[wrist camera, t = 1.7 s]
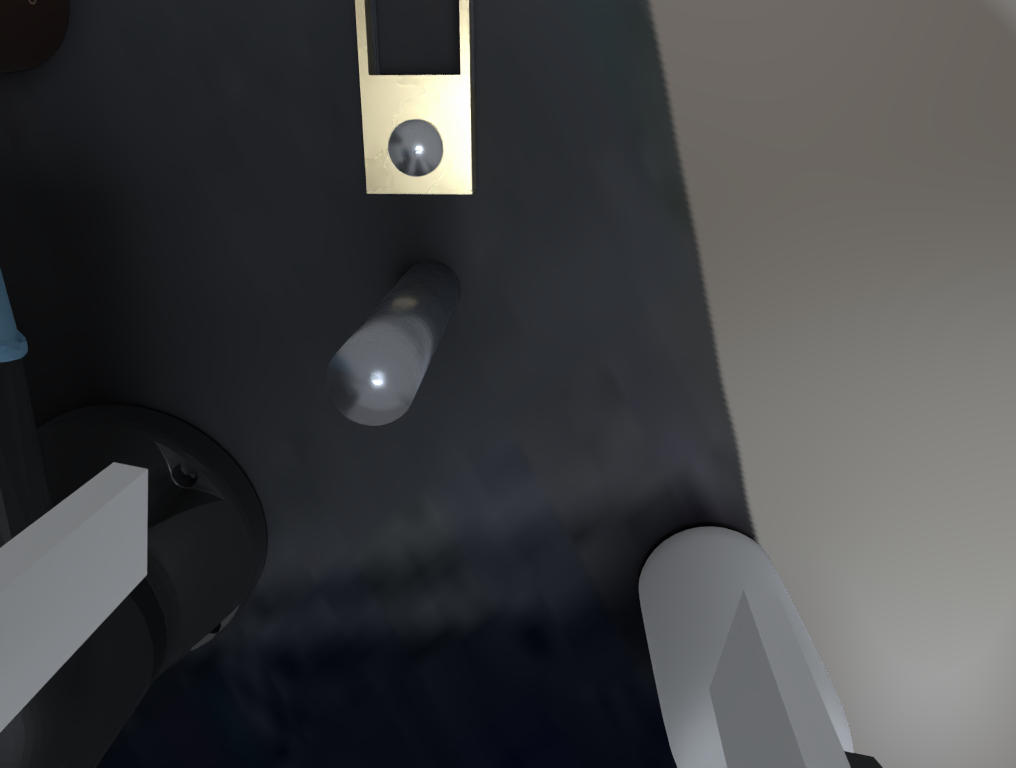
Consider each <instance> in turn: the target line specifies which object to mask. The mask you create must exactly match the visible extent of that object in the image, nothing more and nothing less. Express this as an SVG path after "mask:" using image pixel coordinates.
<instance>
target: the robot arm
mask: <svg viewBox="0 0 1016 768" xmlns="http://www.w3.org/2000/svg"><path fill="white" fill-rule="evenodd" d="M27 352H28V346H27V341H26V338H25V337H24V336H23V335H22V334H21V333H20V332H19V331H18V330H17V327H16V324H15V320H14V316H13V313H12V309H11V305H10V302H9V298H8V294H7V291H6V287H5V284H4V280H3V276H2V273H1V269H0V768H95V767H96V766H97V764H98V763H99V762H100V760H101V759H102V757H103V756H104V754H105V753H106V751H107V750H108V748H109V747H110V745H111V744H112V742H113V741H114V740H115V738H116V737H117V735H118V734H119V732H120V731H121V729H122V728H123V726H124V725H125V723H126V722H127V720H128V719H129V717H130V716H131V715H132V713H133V712H134V710H135V709H136V707H137V706H138V704H139V703H140V701H141V700H142V698H143V697H144V695H145V694H146V692H147V691H148V689H149V688H150V687H151V685H152V684H153V682H154V681H155V679H156V678H157V677H158V676H159V675H161V674H162V673H164V672H165V671H166V670H168V669H169V668H171V667H172V666H174V665H175V664H176V663H178V662H179V661H180V660H182V659H183V658H184V657H185V656H186V655H187V654H188V653H189V652H190V651H191V650H194V649H196V648H198V647H200V646H201V645H203V644H205V643H206V642H208V641H209V640H211V639H212V638H214V637H215V636H216V635H218V634H219V633H220V632H222V631H223V630H224V629H225V628H226V627H227V626H228V625H229V624H230V623H231V622H232V620H233V619H234V618H235V617H236V616H237V614H238V613H239V612H240V610H241V609H242V607H243V606H244V604H245V602H246V601H247V599H248V597H249V596H250V594H251V593H252V591H253V589H254V588H255V586H256V584H257V582H258V580H259V578H260V576H261V573H262V570H263V567H264V563H265V558H266V550H267V534H266V526H265V520H264V516H263V512H262V509H261V506H260V503H259V501H258V498H257V496H256V494H255V492H254V490H253V488H252V486H251V484H250V483H249V481H248V479H247V478H246V476H245V475H244V473H243V472H242V470H241V469H240V468H239V467H238V465H237V464H236V463H235V462H234V461H233V460H232V458H231V457H230V456H229V455H228V454H227V453H226V452H225V451H224V450H223V449H222V448H221V447H219V446H218V445H217V444H216V443H215V442H213V441H212V440H211V439H210V438H208V437H207V436H206V435H204V434H203V433H201V432H200V431H198V430H197V429H195V428H193V427H191V426H190V425H188V424H186V423H184V422H182V421H180V420H178V419H176V418H173V417H171V416H168V415H166V414H163V413H160V412H157V411H154V410H150V409H146V408H141V407H136V406H129V405H115V404H112V405H95V406H89V407H83V408H79V409H75V410H73V411H70V412H67V413H64V414H62V415H60V416H58V417H56V418H54V419H52V420H50V421H49V422H47V423H46V424H44V425H42V426H41V427H39V428H38V429H36V424H35V419H34V415H33V410H32V405H31V400H30V395H29V390H28V385H27V380H26V375H25V370H24V364H23V359H22V357H24V356H25V354H26V353H27ZM709 691H710V695H711V700H712V704H713V708H714V713H715V717H716V721H717V726H718V730H719V734H720V739H721V743H722V747H723V752H724V756H725V760H726V765H727V768H882V766H881V765H880V764H879V763H878V762H877V761H876V760H875V758H874V757H870V756H866V755H861V754H856V753H851V752H846V751H844V750H843V748H842V745H841V743H840V740H839V738H838V736H837V733H836V731H835V729H834V726H833V724H832V721H831V719H830V717H829V714H828V712H827V709H826V707H825V705H824V702H823V700H822V698H821V695H820V693H819V690H818V688H817V686H816V683H815V681H814V678H813V676H812V674H811V671H810V669H809V667H808V664H807V662H806V659H805V657H804V655H803V652H802V650H801V647H800V645H799V643H798V640H797V638H796V636H795V633H794V631H793V628H792V626H791V624H790V621H789V619H788V616H787V614H786V612H785V609H784V607H783V605H782V602H781V600H780V597H779V596H776V595H771V594H766V593H761V592H756V591H752V590H747V589H743V592H742V595H741V598H740V601H739V604H738V607H737V610H736V613H735V615H734V618H733V621H732V624H731V627H730V630H729V633H728V636H727V639H726V642H725V645H724V647H723V650H722V653H721V656H720V659H719V662H718V665H717V668H716V671H715V674H714V677H713V680H712V682H711V685H710V688H709Z"/></svg>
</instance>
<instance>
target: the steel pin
mask: <svg viewBox="0 0 1016 768" xmlns="http://www.w3.org/2000/svg"><path fill="white" fill-rule="evenodd" d="M459 297H460V285H459V282H458V279H457V277H456V275H455V274H454V273H453V271H452V270H451V269H450V268H448V267H447V266H446V265H444V264H442V263H439V262H435V261H423V262H420V263H417V264H415V265H414V266H412V267H411V268H410V269H409V270H408V271H407V272H406V273H405V274H404V276H403V277H402V278H401V279H400V280H399V281H398V283H397V284H396V285H395V286H394V287H393V288H392V289H391V291H390V292H389V293H388V294H387V295H386V296H385V298H384V299H383V300H382V301H381V302H380V303H379V304H378V306H377V307H376V308H375V309H374V310H373V311H372V313H371V314H370V315H369V316H368V317H367V318H366V319H365V321H364V322H363V323H362V324H361V325H360V326H359V328H358V329H357V330H356V331H355V332H354V333H353V334H352V336H351V337H350V338H349V339H348V340H347V341H346V343H345V344H344V345H343V346H342V347H341V348H340V349H339V351H338V352H337V353H336V354H335V355H334V356H333V358H332V359H331V361H330V363H329V365H328V368H327V372H326V388H327V392H328V395H329V397H330V399H331V401H332V403H333V404H334V406H335V407H336V408H337V409H338V410H339V411H340V412H341V413H342V414H343V415H344V416H346V417H347V418H349V419H351V420H353V421H355V422H357V423H360V424H364V425H372V426H375V425H384V424H387V423H390V422H393V421H395V420H396V419H398V418H400V417H401V416H402V415H403V414H404V413H405V412H406V411H407V410H408V408H409V407H410V405H411V403H412V401H413V399H414V397H415V394H416V392H417V390H418V388H419V386H420V384H421V381H422V379H423V377H424V375H425V373H426V370H427V368H428V366H429V364H430V362H431V360H432V357H433V355H434V353H435V351H436V349H437V347H438V344H439V342H440V340H441V338H442V336H443V333H444V331H445V329H446V327H447V325H448V323H449V320H450V318H451V316H452V314H453V312H454V310H455V307H456V305H457V303H458V301H459Z"/></svg>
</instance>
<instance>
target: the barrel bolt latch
mask: <svg viewBox="0 0 1016 768" xmlns="http://www.w3.org/2000/svg"><path fill="white" fill-rule="evenodd" d="M355 10H356V26H357V42H358V58H359V74H360V90H361V106H362V122H363V139H364V155H365V171H366V187H367V194H472V193H473V192H474V191H475V190H476V122H475V50H474V0H459V13H460V63H461V75H380V66H379V47H378V29H377V10H376V0H355Z"/></svg>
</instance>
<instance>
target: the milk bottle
mask: <svg viewBox="0 0 1016 768" xmlns="http://www.w3.org/2000/svg"><path fill="white" fill-rule="evenodd" d="M743 589H747V590H752V591H756V592H761V593H766V594H771V595H776V596H779V597H780V600H781V602H782V605H783V607H784V609H785V612H786V614H787V616H788V619H789V621H790V624H791V626H792V628H793V631H794V633H795V636H796V638H797V640H798V643H799V645H800V647H801V650H802V652H803V655H804V657H805V659H806V662H807V664H808V667H809V669H810V671H811V674H812V676H813V678H814V681H815V683H816V686H817V688H818V690H819V693H820V695H821V698H822V700H823V702H824V705H825V707H826V709H827V712H828V714H829V717H830V719H831V721H832V724H833V726H834V729H835V731H836V733H837V736H838V738H839V740H840V743H841V745H842V748H843V750H844V751H846V752H851V753H854V752H853V745H852V739H851V734H850V730H849V726H848V723H847V719H846V716H845V713H844V710H843V708H842V705H841V703H840V701H839V698H838V696H837V694H836V691H835V689H834V687H833V684H832V682H831V680H830V678H829V675H828V673H827V671H826V669H825V667H824V665H823V663H822V661H821V659H820V657H819V655H818V653H817V651H816V649H815V647H814V645H813V643H812V641H811V638H810V636H809V634H808V632H807V630H806V629H805V626H804V624H803V623H802V620H801V618H800V616H799V614H798V612H797V610H796V608H795V607H794V604H793V602H792V600H791V598H790V597H789V594H788V592H787V591H786V589H785V587H784V585H783V583H782V581H781V579H780V577H779V575H778V573H777V571H776V569H775V567H774V565H773V564H772V562H771V560H770V558H769V557H768V555H767V554H766V552H765V551H764V550H763V549H762V548H761V546H759V545H758V544H757V543H756V542H755V541H753V540H752V539H751V538H749V537H747V536H745V535H743V534H741V533H739V532H737V531H733V530H730V529H727V528H722V527H714V526H707V527H696V528H692V529H687V530H684V531H682V532H679V533H677V534H674V535H673V536H671V537H670V538H668V539H666V540H665V541H663V542H662V543H661V544H660V545H659V546H658V547H657V548H656V549H655V550H654V551H653V552H652V554H651V555H650V556H649V558H648V559H647V561H646V563H645V565H644V567H643V569H642V572H641V575H640V579H639V597H640V605H641V610H642V615H643V621H644V626H645V631H646V636H647V641H648V646H649V652H650V657H651V662H652V667H653V672H654V677H655V681H656V686H657V691H658V696H659V701H660V706H661V710H662V715H663V720H664V724H665V728H666V732H667V736H668V740H669V744H670V748H671V751H672V754H673V757H674V760H675V762H676V765H677V768H727V765H726V760H725V756H724V752H723V747H722V743H721V739H720V734H719V730H718V726H717V721H716V717H715V713H714V708H713V704H712V700H711V695H710V691H709V688H710V685H711V682H712V680H713V677H714V674H715V671H716V668H717V665H718V662H719V659H720V656H721V653H722V650H723V647H724V645H725V642H726V639H727V636H728V633H729V630H730V627H731V624H732V621H733V618H734V615H735V613H736V610H737V607H738V604H739V601H740V598H741V595H742V592H743Z"/></svg>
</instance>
